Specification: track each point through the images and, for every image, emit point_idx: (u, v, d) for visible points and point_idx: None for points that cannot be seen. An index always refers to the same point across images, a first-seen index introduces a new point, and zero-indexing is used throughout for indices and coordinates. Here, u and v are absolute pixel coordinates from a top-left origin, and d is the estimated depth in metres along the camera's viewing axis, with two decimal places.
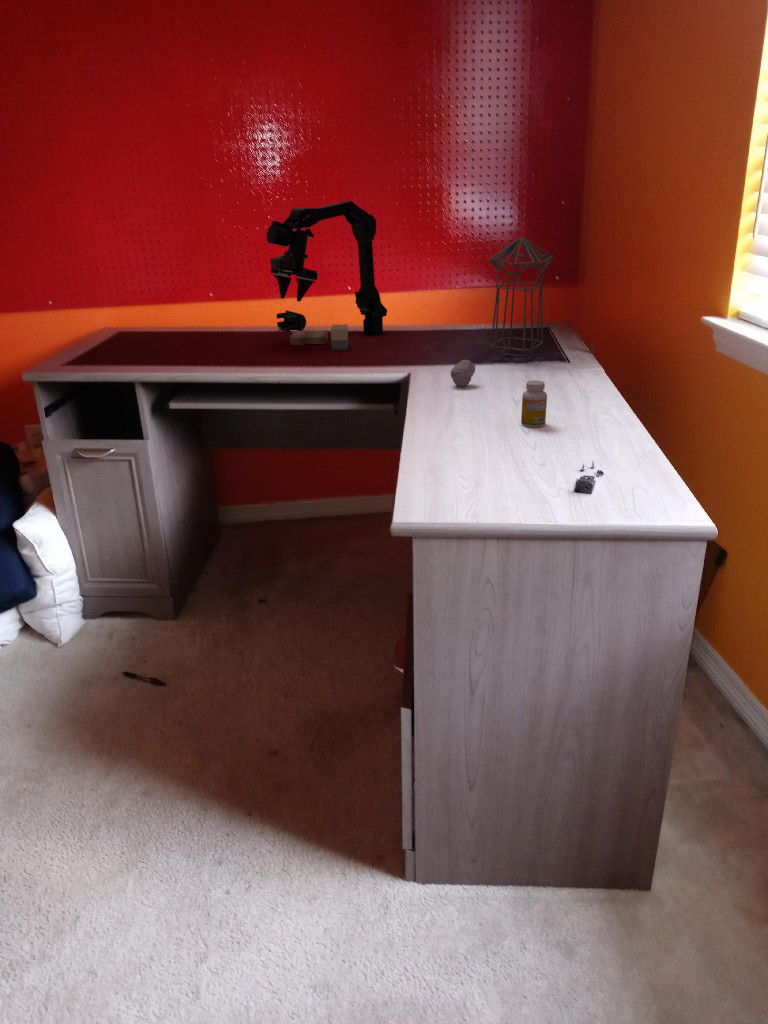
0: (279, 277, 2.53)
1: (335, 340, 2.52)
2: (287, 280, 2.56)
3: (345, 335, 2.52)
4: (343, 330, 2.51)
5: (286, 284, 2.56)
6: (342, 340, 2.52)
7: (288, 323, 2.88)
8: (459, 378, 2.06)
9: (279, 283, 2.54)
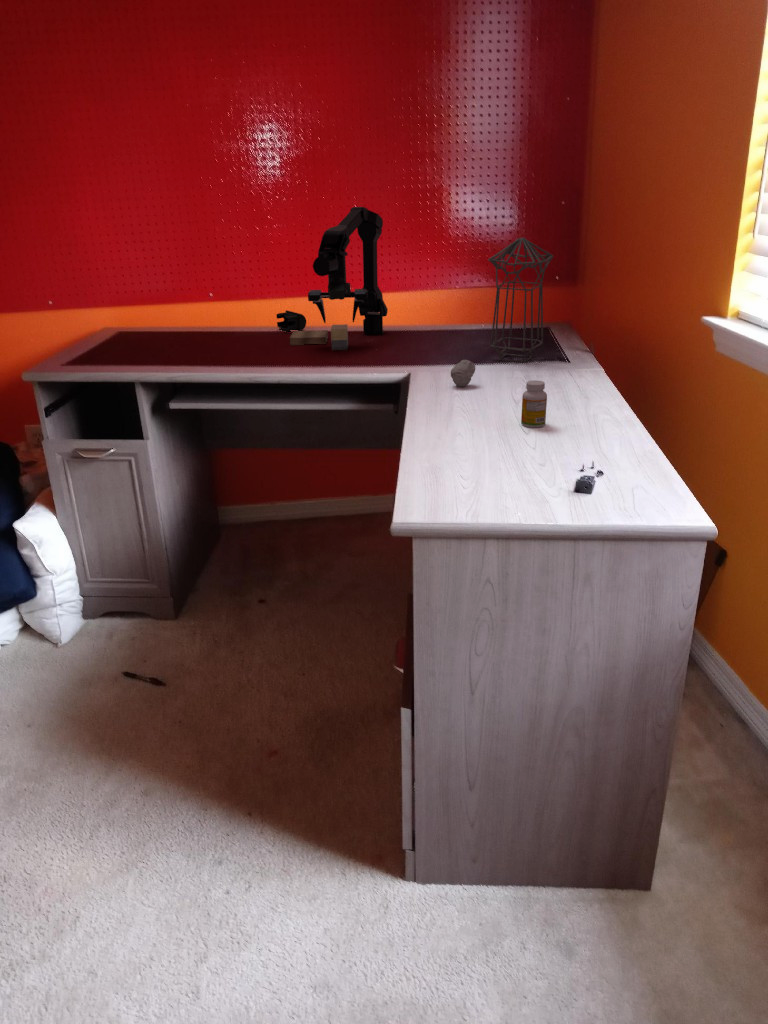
0: (322, 303, 2.50)
1: (335, 340, 2.52)
2: (322, 303, 2.53)
3: (345, 335, 2.52)
4: (343, 330, 2.51)
5: (323, 307, 2.53)
6: (342, 340, 2.52)
7: (288, 323, 2.88)
8: (459, 378, 2.06)
9: (321, 309, 2.51)
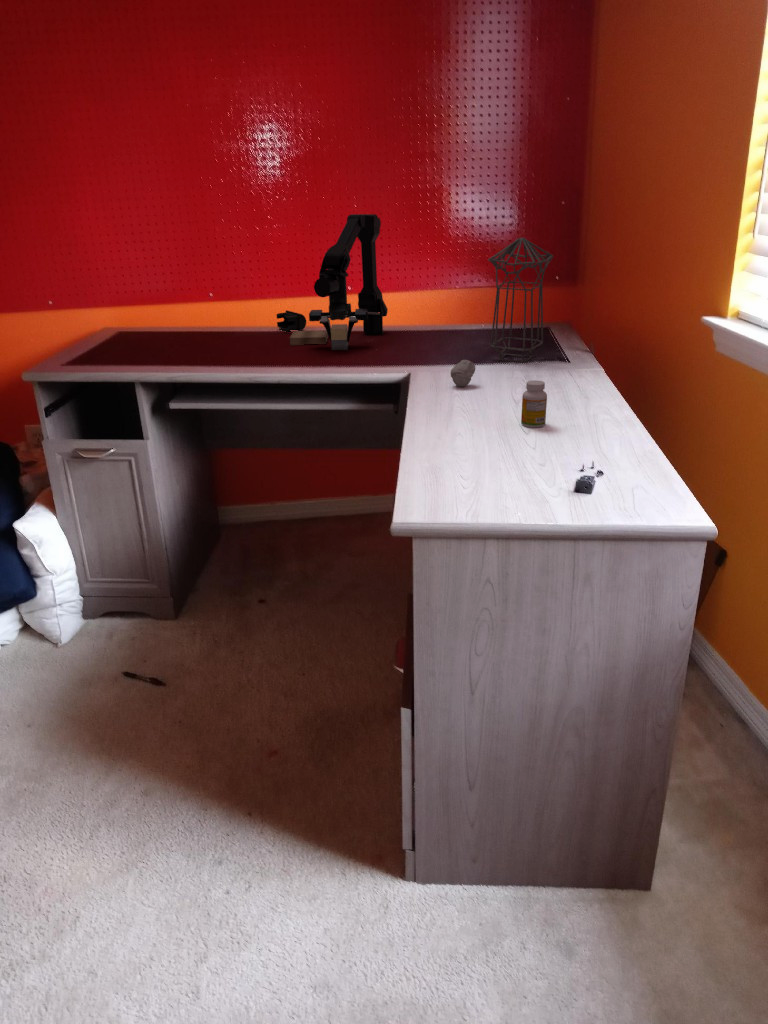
0: (328, 323, 2.52)
1: (335, 340, 2.52)
2: (329, 322, 2.55)
3: (345, 335, 2.52)
4: (343, 330, 2.51)
5: (330, 327, 2.56)
6: (342, 340, 2.52)
7: (288, 323, 2.88)
8: (459, 378, 2.06)
9: (328, 328, 2.53)
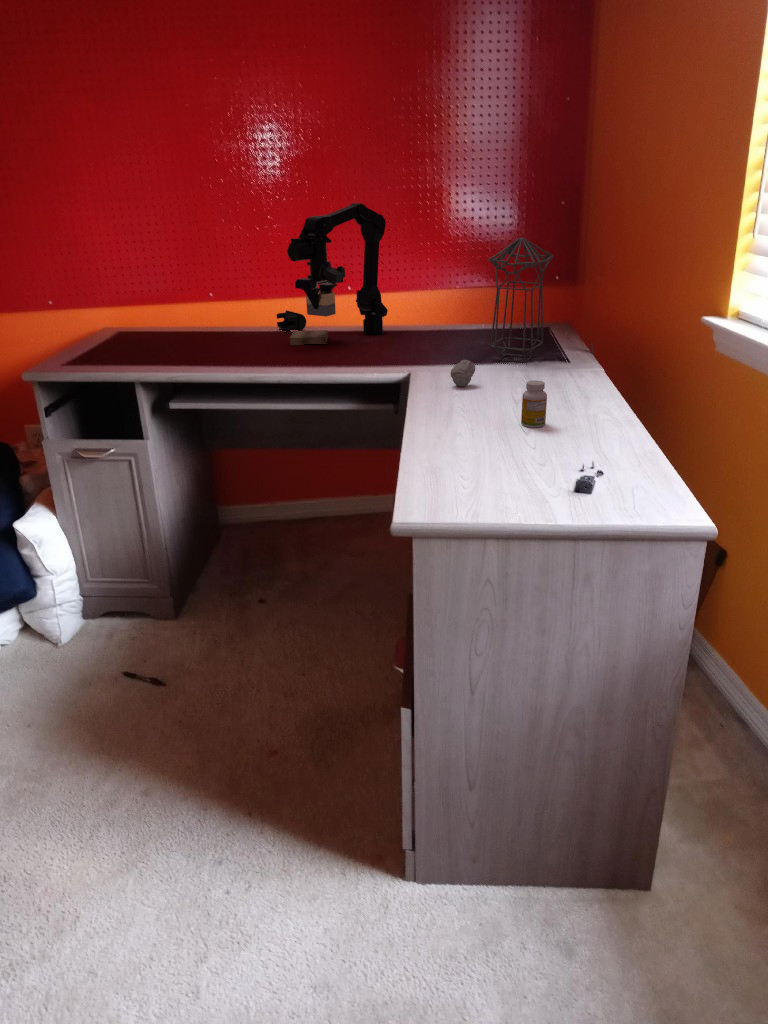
0: None
1: (328, 305, 2.55)
2: None
3: (334, 298, 2.57)
4: (332, 294, 2.56)
5: None
6: (332, 304, 2.57)
7: (288, 323, 2.88)
8: (459, 378, 2.06)
9: (316, 295, 2.53)
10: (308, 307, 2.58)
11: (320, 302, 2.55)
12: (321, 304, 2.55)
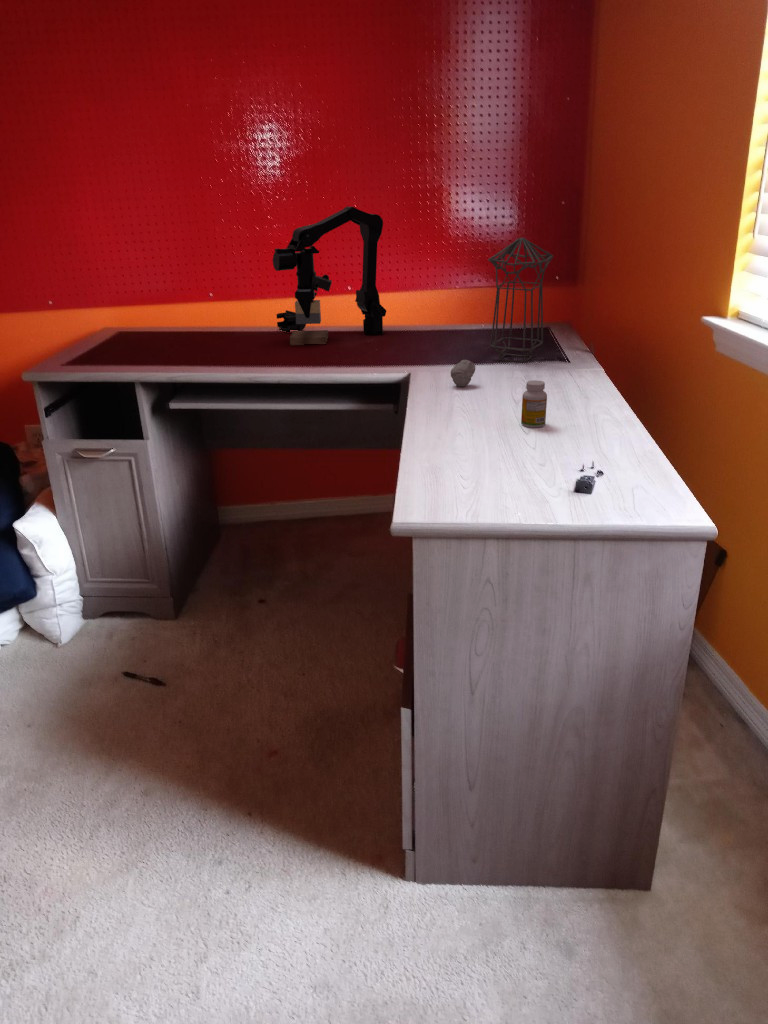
0: None
1: (319, 312, 2.63)
2: None
3: None
4: (319, 301, 2.64)
5: None
6: (320, 311, 2.65)
7: (288, 323, 2.88)
8: (459, 378, 2.06)
9: (310, 304, 2.60)
10: (298, 317, 2.63)
11: (312, 310, 2.62)
12: (314, 312, 2.62)
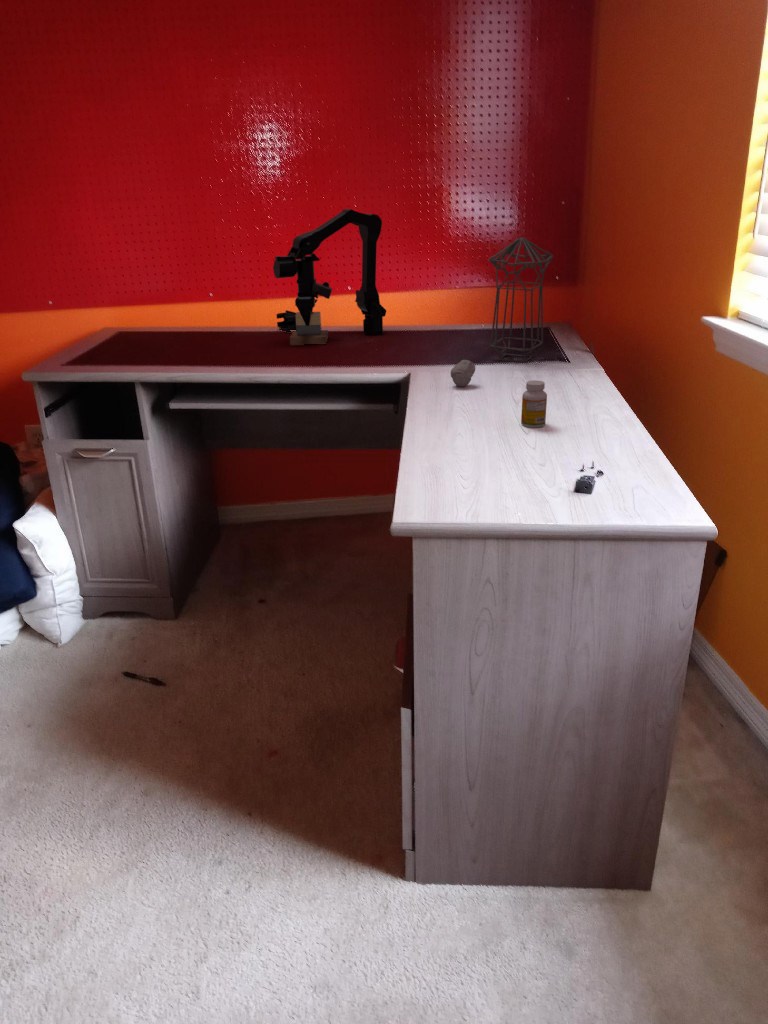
0: None
1: (320, 324, 2.65)
2: None
3: (320, 317, 2.67)
4: (320, 313, 2.66)
5: None
6: (320, 323, 2.67)
7: (288, 323, 2.88)
8: (459, 378, 2.06)
9: (310, 312, 2.60)
10: (298, 328, 2.64)
11: (313, 322, 2.63)
12: (314, 324, 2.63)
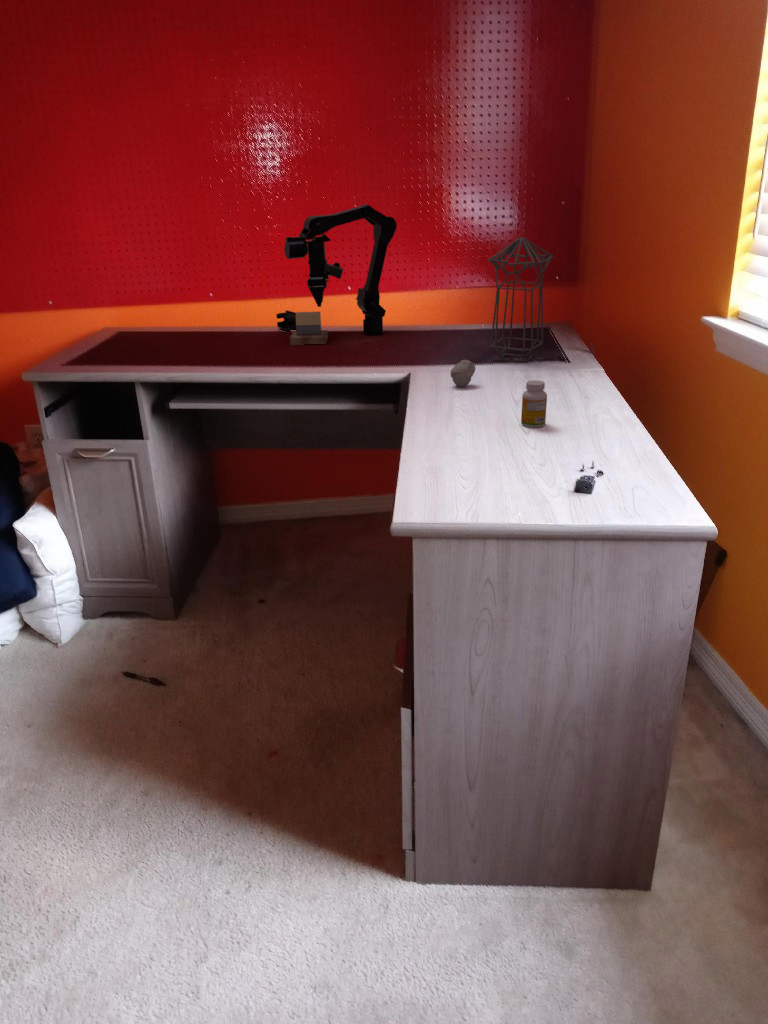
0: None
1: (320, 324, 2.65)
2: None
3: (320, 317, 2.67)
4: (320, 313, 2.66)
5: None
6: (320, 323, 2.67)
7: (288, 323, 2.88)
8: (459, 378, 2.06)
9: (322, 293, 2.61)
10: (298, 328, 2.64)
11: (313, 322, 2.63)
12: (314, 324, 2.63)
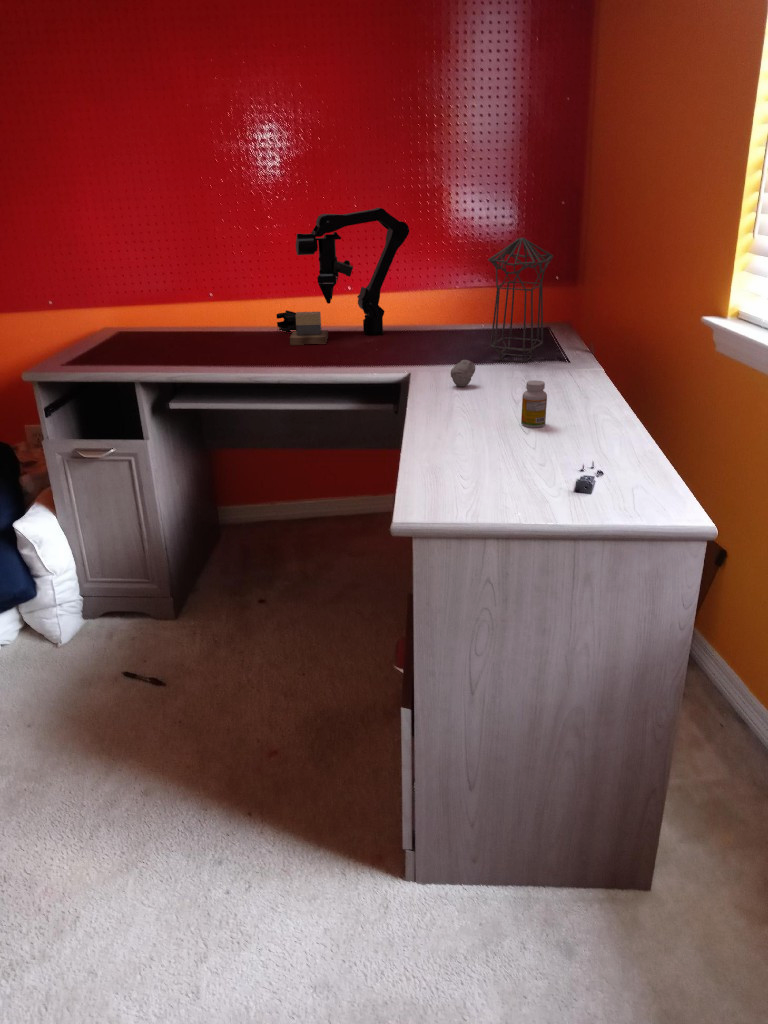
0: None
1: (320, 324, 2.65)
2: None
3: (320, 317, 2.67)
4: (320, 313, 2.66)
5: None
6: (320, 323, 2.67)
7: (288, 323, 2.88)
8: (459, 378, 2.06)
9: (331, 290, 2.64)
10: (298, 328, 2.64)
11: (313, 322, 2.63)
12: (314, 324, 2.63)
